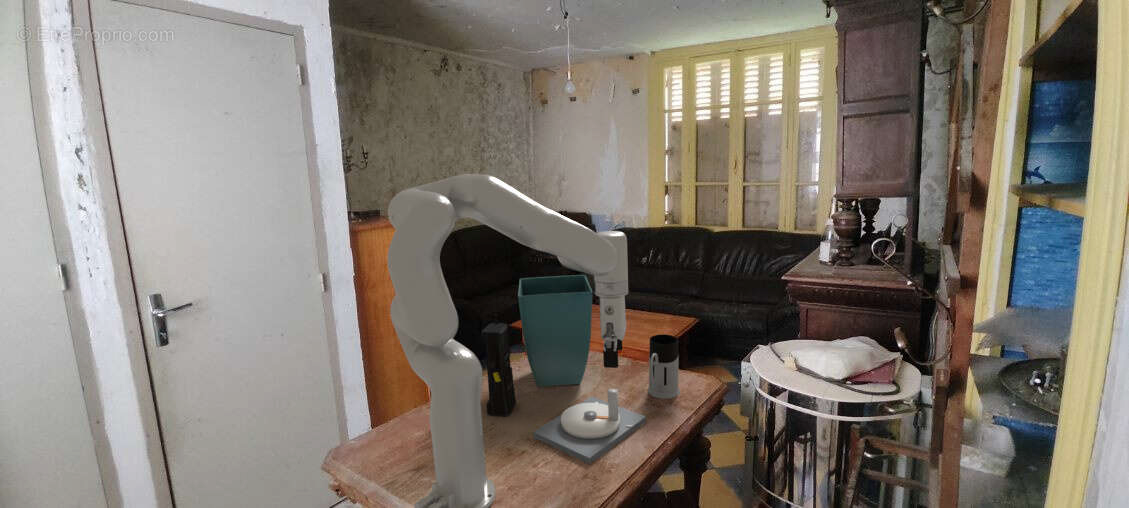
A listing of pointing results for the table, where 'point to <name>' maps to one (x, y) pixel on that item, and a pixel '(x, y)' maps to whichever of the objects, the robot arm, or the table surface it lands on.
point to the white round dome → (592, 418)
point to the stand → (588, 447)
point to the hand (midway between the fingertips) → (613, 358)
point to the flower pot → (556, 327)
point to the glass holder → (663, 367)
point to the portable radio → (499, 369)
